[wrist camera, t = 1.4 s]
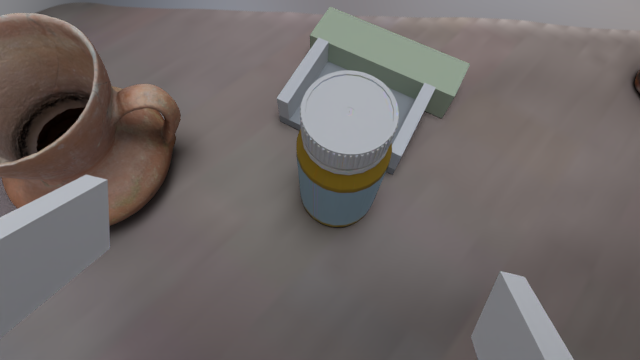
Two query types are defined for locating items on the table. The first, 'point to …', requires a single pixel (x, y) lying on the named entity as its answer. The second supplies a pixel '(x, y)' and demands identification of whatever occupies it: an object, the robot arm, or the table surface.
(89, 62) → the ceramic jug
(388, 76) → the green-backed grey tray
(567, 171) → the table surface
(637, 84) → the sauce bottle
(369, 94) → the bottle
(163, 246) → the table surface
